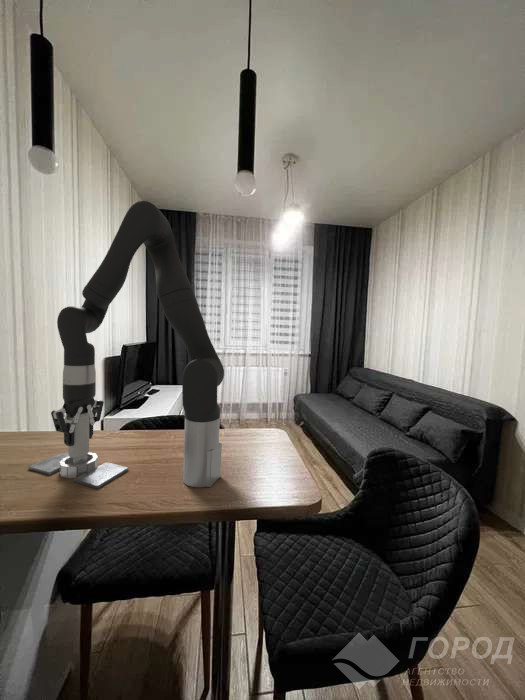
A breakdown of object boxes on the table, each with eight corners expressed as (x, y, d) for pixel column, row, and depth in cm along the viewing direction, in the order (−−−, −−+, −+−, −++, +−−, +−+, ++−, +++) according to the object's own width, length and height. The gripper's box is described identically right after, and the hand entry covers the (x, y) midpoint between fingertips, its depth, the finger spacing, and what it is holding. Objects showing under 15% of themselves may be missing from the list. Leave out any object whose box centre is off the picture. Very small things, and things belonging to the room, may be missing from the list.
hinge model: (128, 470, 79) (128, 459, 78) (97, 488, 69) (97, 477, 69) (64, 454, 86) (64, 444, 86) (28, 469, 77) (28, 458, 76)
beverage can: (64, 456, 76) (64, 413, 76) (82, 449, 81) (83, 409, 80) (74, 460, 74) (74, 416, 73) (92, 453, 78) (93, 412, 78)
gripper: (63, 387, 68) (63, 454, 69) (112, 378, 82) (111, 435, 83) (41, 383, 70) (42, 449, 71) (92, 375, 84) (91, 431, 85)
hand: (79, 441), depth 77 cm, fingers closed on beverage can, 5 cm apart
